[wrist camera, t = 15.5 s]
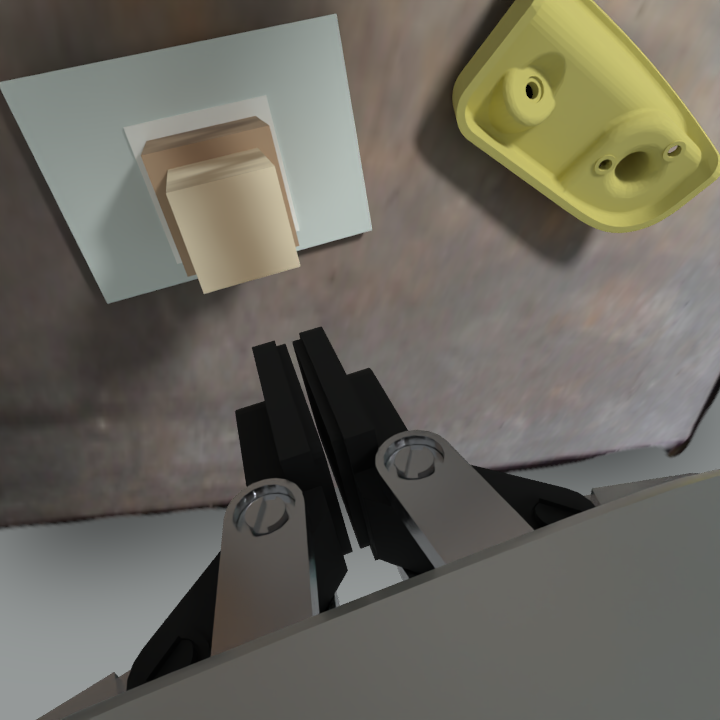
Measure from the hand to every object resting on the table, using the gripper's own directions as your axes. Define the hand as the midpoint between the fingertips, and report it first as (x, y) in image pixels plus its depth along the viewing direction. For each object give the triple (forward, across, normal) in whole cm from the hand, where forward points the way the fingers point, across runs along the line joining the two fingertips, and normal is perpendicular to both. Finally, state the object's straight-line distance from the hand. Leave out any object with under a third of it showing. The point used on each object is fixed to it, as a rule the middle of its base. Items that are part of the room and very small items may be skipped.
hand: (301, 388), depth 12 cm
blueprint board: (+28, 0, 0) cm, 28 cm away
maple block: (+21, 0, +1) cm, 21 cm away
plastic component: (+29, -26, +2) cm, 39 cm away
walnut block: (+27, 0, +1) cm, 27 cm away
